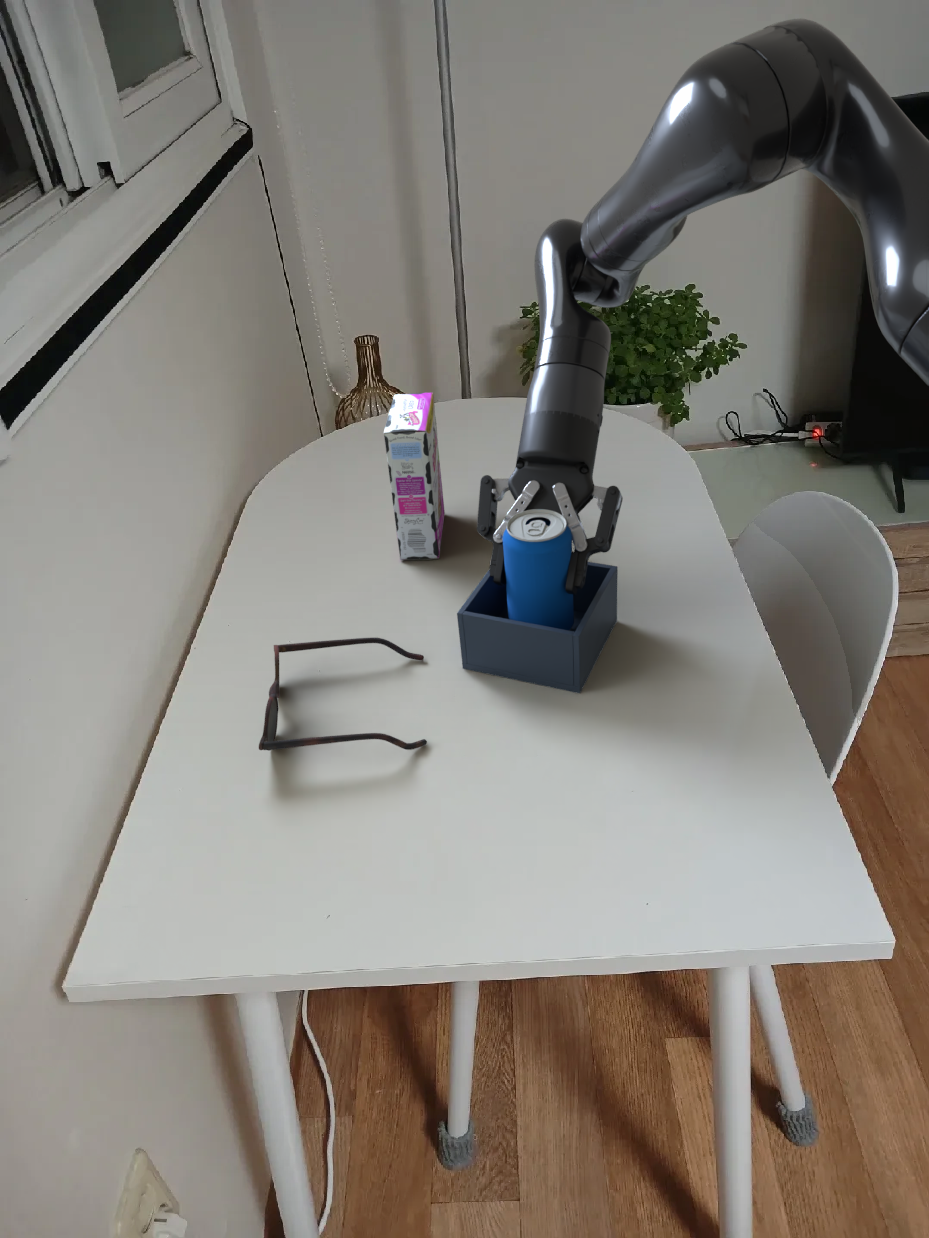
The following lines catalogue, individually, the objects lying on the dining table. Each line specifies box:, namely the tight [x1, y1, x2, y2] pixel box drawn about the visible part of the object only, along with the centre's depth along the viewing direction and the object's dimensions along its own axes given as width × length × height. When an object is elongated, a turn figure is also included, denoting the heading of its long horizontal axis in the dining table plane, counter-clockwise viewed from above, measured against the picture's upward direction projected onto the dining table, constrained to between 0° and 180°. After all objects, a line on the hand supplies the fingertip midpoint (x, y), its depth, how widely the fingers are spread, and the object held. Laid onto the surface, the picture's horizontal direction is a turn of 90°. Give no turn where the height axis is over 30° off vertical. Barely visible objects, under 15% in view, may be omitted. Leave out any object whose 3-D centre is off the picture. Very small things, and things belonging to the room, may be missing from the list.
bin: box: [456, 561, 619, 694], centre depth 95 cm, size 12×12×7 cm
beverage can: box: [503, 509, 574, 630], centre depth 92 cm, size 6×6×12 cm
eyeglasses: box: [258, 637, 428, 752], centre depth 90 cm, size 15×15×5 cm
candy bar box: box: [383, 392, 446, 561], centre depth 111 cm, size 11×5×16 cm, turn 178°
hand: (534, 588), depth 91 cm, fingers closed on beverage can, 6 cm apart
